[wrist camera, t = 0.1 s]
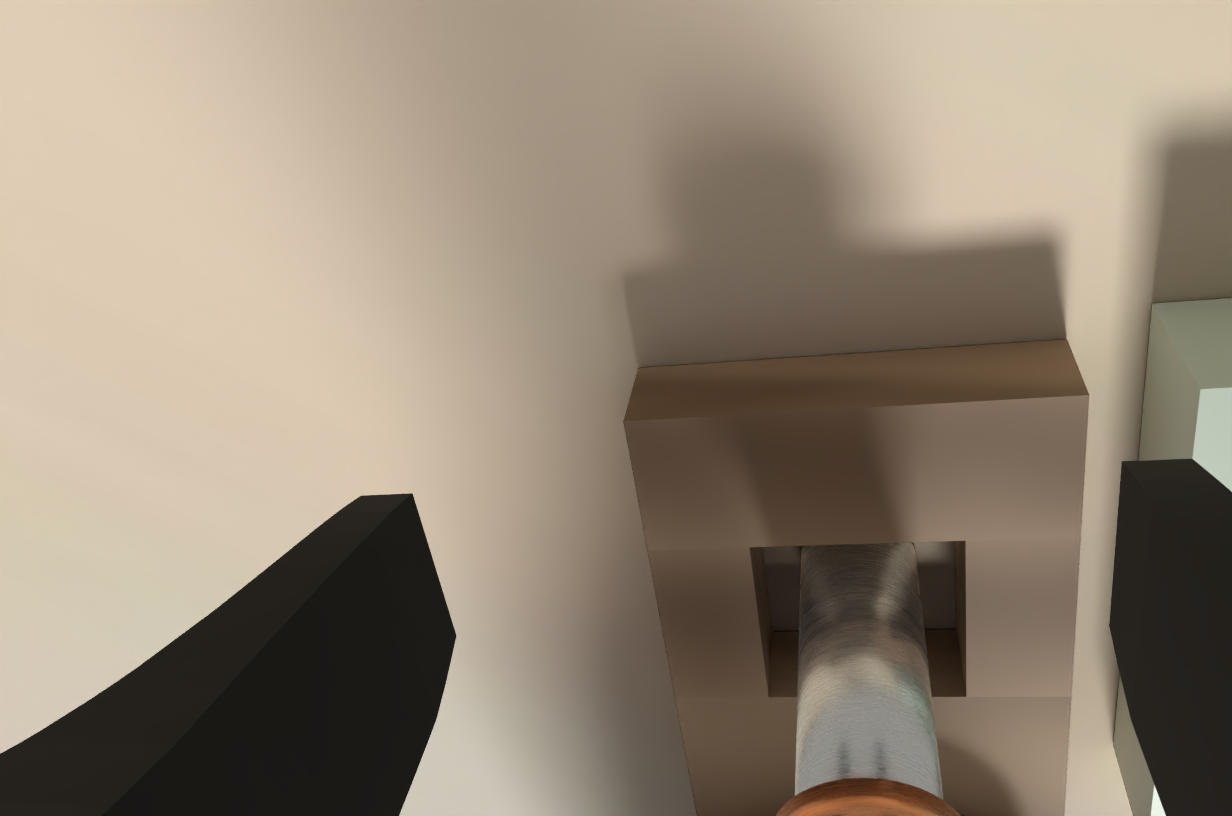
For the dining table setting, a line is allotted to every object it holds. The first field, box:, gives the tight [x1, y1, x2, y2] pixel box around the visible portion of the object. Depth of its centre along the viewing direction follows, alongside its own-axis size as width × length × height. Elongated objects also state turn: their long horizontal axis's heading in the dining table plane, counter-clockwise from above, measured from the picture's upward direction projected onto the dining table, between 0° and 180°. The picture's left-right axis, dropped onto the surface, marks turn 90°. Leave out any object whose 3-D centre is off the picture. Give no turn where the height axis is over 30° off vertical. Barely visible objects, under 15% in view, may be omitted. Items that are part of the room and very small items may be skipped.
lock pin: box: [776, 542, 961, 816], centre depth 20 cm, size 3×3×8 cm
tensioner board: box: [624, 339, 1089, 816], centre depth 23 cm, size 18×8×6 cm, turn 9°
